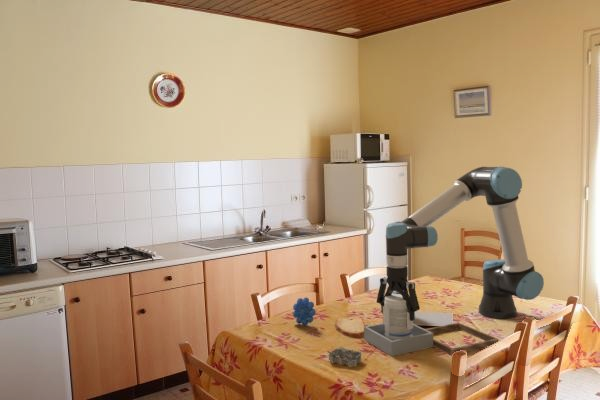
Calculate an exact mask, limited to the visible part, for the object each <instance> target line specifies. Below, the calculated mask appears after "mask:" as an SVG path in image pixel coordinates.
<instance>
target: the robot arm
mask: <svg viewBox="0 0 600 400" xmlns="http://www.w3.org/2000/svg"><path fill="white" fill-rule="evenodd" d="M521 189H523V180H522V178H521V176H520V173H519V172H517V171H516V170H515V169H513V168H511V167H506V166H479V167H476V168H474V169H472V170H470V171H468V172H466V173H465V174H463V175H461V176H460V177H459V178H458V179H456V180H455V181H454V182H453V184H452V185H451V186H450V187H449V188H447V189H446V190H445V191H443V192H441V194H439V195H437V196H435V198H433V199H432V200H431V201H429V202H427V203H426V204H425V205H423V206H422V207H420V208H419V209H418V210H416V211H415V212H413V213H412V214H410V215H409V216H408V217H406V218H404V220H402V221H395V222H390V223H388V224H387V225H386V228H385V249H386V251H385V253H386V258H385V259H386V277H385V276H384V277H380V278H379V284H380V285H379V288H378V294H377V297H376V303H377V304H379V305H380V306H381V307H380V311H381V314H382V323H384V324H385V313H384V301H385V296H390V295H391V294H392V293H393V291H397V292H400V294H401V295H402V297H403V299H404V300H406V306H407V308H408V310H409V311H408V312H407V330H410V329H412V328H413V324H414V321H415V319H416V315H415V314H416V313H415V312H418V311H420V310H421V309H420V304H419V300H418V296H417V295H418V294H417V292H416V283H415V282H409V281H408V276H409V275H408V274H409V272H408V261H409V260H408V249H419V248H429V247H433V246H436V245H437V243H438V240H439V239H438V238H439V237H438V233H437V229H436V228H435V227H434V226H431V225H433V223H435V222H437V220H439V219H441V218H442V217H443V216H445V215H447V213H449V212H451V210H453V209H455V208H456V207H457V206H459V205H461V204H462V203H464V201H466V202H468V201H471V200H472V199H474V198H476V197H480V196H482V197H485V200H486V204H487V206H489V207H491V208H492V213H493V217H494V221H495V226H496V230H497V233H498V238H499V242H500V245H501V246H500V247H501V250H502V255H503V259H501V258H500V259H489V260H486V261H484V263H483V268H482V289H483V292H482V297H481V299H480V303H479V305H478V313H479V314H480V315H482V316H484V317H486V318H487V317H488V318H491V319H492V318H493V319H512V318H515V317H517V313H518V311H517V309H518V308H517V307H516V305H515V301H514V297H517V298H518V299H522V300H527V301H528V300H530V301H531V300H534V299H536V298H538V296H539V295H540V294H541V292H542V291H543V290H544V289H543V288H544V283H545V282H544V277H543V275H542V273H540V272H538V271H536V269H535V265H534V262H533V261H532V260H531V259H529V258H528V253H527V252H528V251H527V248H526V244H525V240H524V235H523V232H522V227H521V222H520V216H519V214H518V209H517V208H518V207H517V204H516V203H517V202H518V200H519V198H520V197H519V195H520V194H521V191H522V190H521ZM387 285H388V286H387ZM406 286H407V288H408V290H407V288H406ZM403 290H404V291H403ZM513 296H514V297H513Z"/></svg>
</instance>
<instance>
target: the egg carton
mask: <svg viewBox="0 0 600 400" xmlns="http://www.w3.org/2000/svg"><path fill="white" fill-rule="evenodd" d="M326 353H327V354H328V361H329V360H330V361H329V362H338V363H337V364H338V365H339V364H347V365H346V366H347V367H348V366H349V367H348V368H353V366H354V368H355V367H357V366H358V364H360V363H362V354H363V351H359V350H358V351H357V350H354V349H347V348H345V347H342V346H341V347H336V348H335V349H333V350H332V351H329V350H327V352H326Z"/></svg>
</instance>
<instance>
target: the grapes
mask: <svg viewBox="0 0 600 400" xmlns="http://www.w3.org/2000/svg"><path fill="white" fill-rule="evenodd" d="M314 307H315V303H314V302H313V301H311V300H310V299H309V298H308V297H304V298H302V297H300V298H297V300H296V303H294V304H293V306H292V309H293V310H294V311H293V312H292V317H293V318H296V319H295V320H296V323H297V324H299V325H300V324H302V325H303V326H307V325H308V324H311V323H313V321H314V316H315V315H316V309H314Z"/></svg>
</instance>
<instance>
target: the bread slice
mask: <svg viewBox="0 0 600 400" xmlns="http://www.w3.org/2000/svg"><path fill="white" fill-rule="evenodd" d="M365 325H366V324H365V322H364V321H363V318H361V316H359V315H353V316H350V317H346V318H345V317H344V318H343V317H337V318H336V321H335V324H334V327H335V329H336V331H338V333H340V334H342V335H343V336H345V337H348V338H355V339H364V327H365Z"/></svg>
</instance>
